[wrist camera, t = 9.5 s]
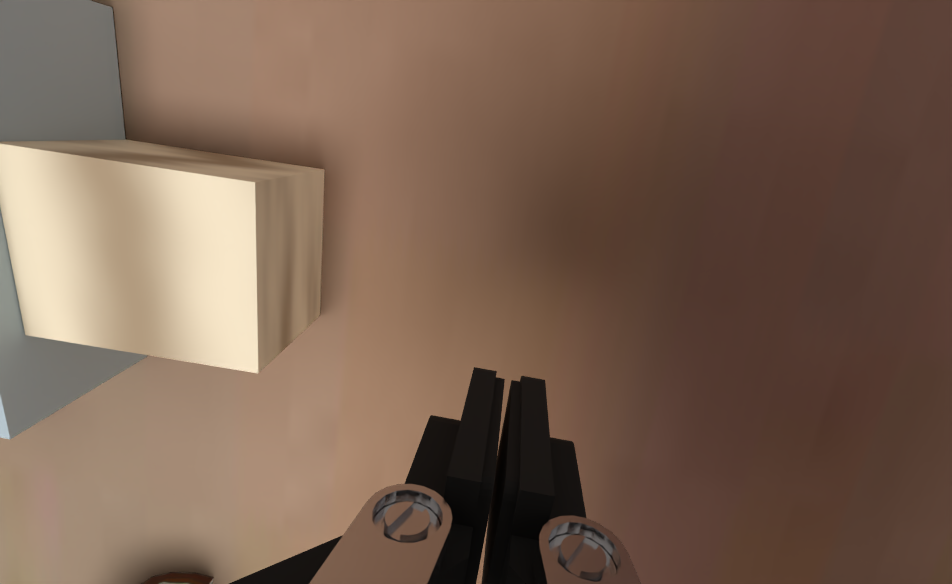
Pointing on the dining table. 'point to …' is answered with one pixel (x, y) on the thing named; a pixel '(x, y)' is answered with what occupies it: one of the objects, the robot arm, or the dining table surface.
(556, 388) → the dining table surface
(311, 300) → the block
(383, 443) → the dining table surface
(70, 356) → the board
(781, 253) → the dining table surface
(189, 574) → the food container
